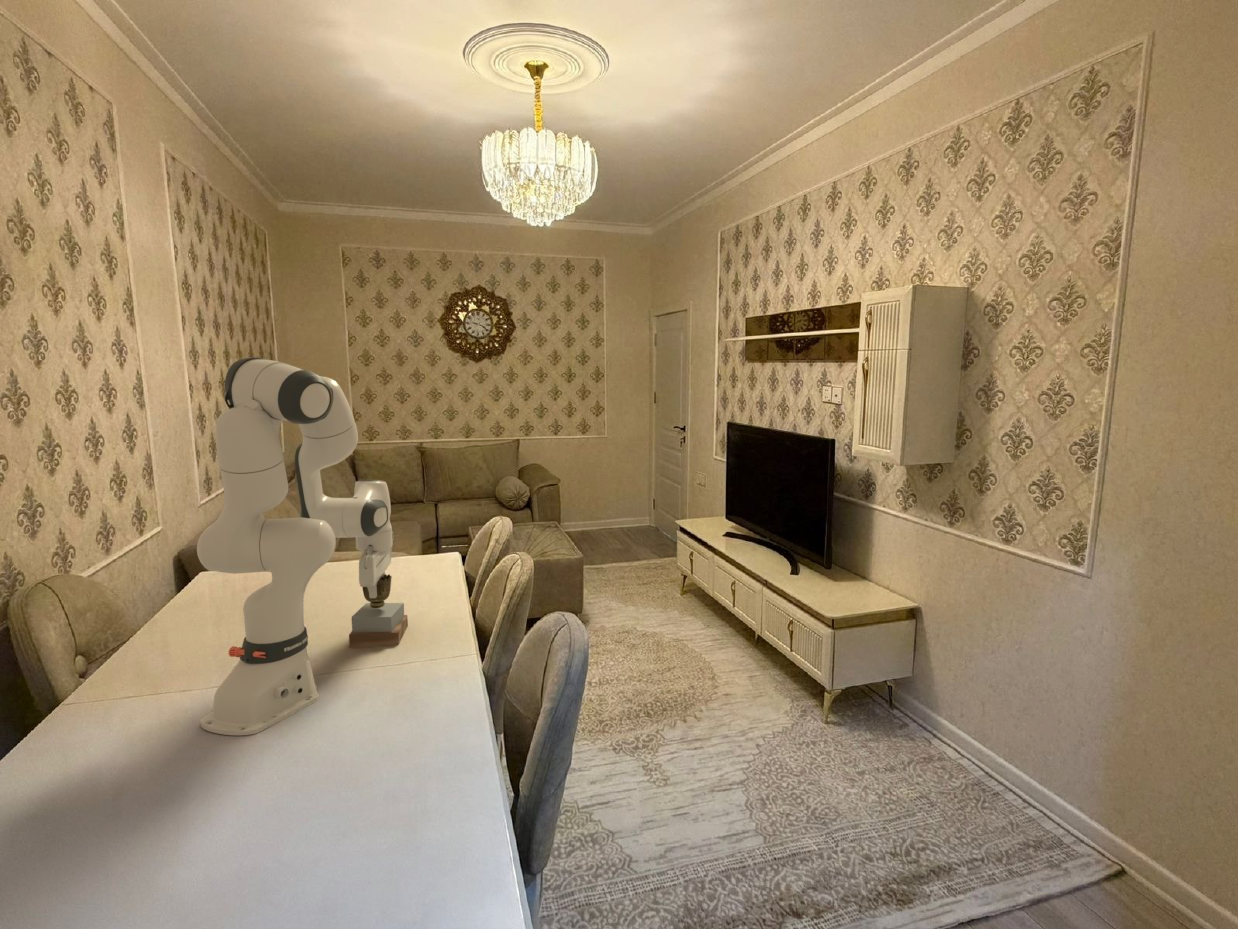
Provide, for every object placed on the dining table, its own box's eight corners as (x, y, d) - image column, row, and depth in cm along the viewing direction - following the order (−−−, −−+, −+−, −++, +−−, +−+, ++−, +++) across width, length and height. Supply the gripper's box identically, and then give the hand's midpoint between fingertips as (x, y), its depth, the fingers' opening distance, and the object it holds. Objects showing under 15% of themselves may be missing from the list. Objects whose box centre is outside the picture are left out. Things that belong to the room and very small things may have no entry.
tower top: (391, 632, 162) (391, 617, 161) (352, 632, 161) (351, 617, 161) (404, 617, 171) (403, 603, 171) (367, 617, 171) (366, 602, 171)
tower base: (399, 647, 162) (398, 632, 161) (349, 650, 160) (348, 635, 160) (408, 628, 174) (407, 615, 173) (362, 631, 172) (361, 617, 171)
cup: (397, 603, 169) (396, 573, 168) (384, 611, 161) (383, 580, 161) (370, 603, 169) (369, 573, 169) (356, 610, 162) (355, 579, 162)
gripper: (377, 551, 153) (380, 605, 155) (394, 531, 174) (397, 579, 175) (350, 552, 153) (353, 607, 154) (370, 531, 173) (373, 580, 175)
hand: (377, 592), depth 165 cm, fingers closed on cup, 6 cm apart
